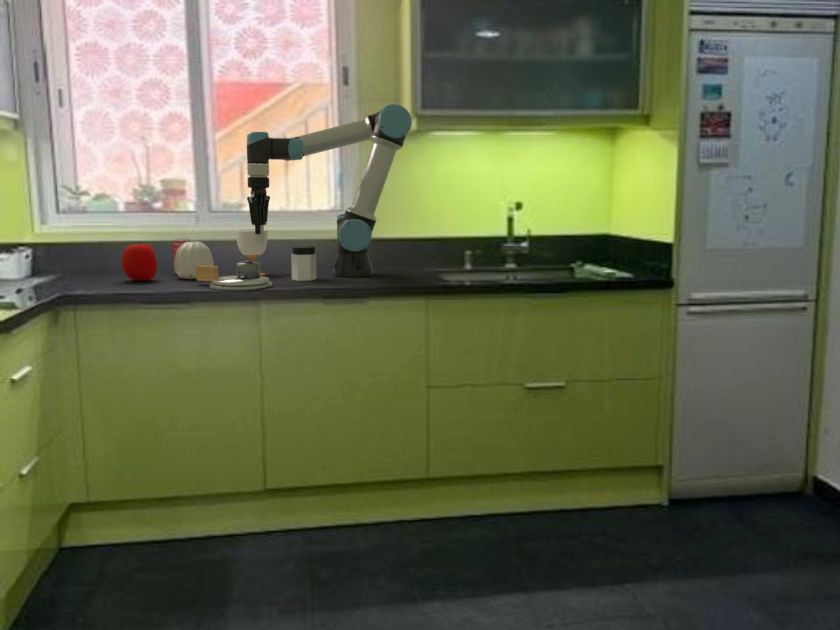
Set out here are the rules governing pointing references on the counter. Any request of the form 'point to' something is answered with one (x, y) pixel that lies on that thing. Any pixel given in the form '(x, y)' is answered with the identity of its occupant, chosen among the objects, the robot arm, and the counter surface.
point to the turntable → (212, 275)
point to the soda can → (177, 244)
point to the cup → (250, 243)
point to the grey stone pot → (248, 269)
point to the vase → (191, 259)
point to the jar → (303, 263)
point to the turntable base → (239, 287)
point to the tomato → (139, 262)
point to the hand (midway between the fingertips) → (259, 243)
